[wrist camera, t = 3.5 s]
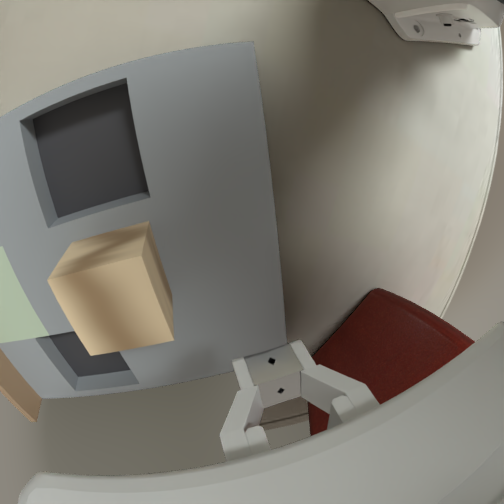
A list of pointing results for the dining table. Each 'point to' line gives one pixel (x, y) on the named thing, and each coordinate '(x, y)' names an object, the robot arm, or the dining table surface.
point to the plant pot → (387, 348)
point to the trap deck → (141, 219)
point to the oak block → (115, 290)
